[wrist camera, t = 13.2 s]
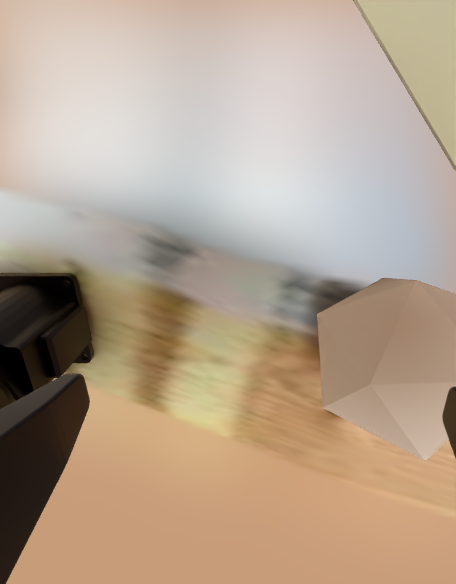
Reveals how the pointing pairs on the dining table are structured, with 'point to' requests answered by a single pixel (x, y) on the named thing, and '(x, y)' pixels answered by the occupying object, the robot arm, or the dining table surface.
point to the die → (391, 361)
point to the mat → (421, 57)
